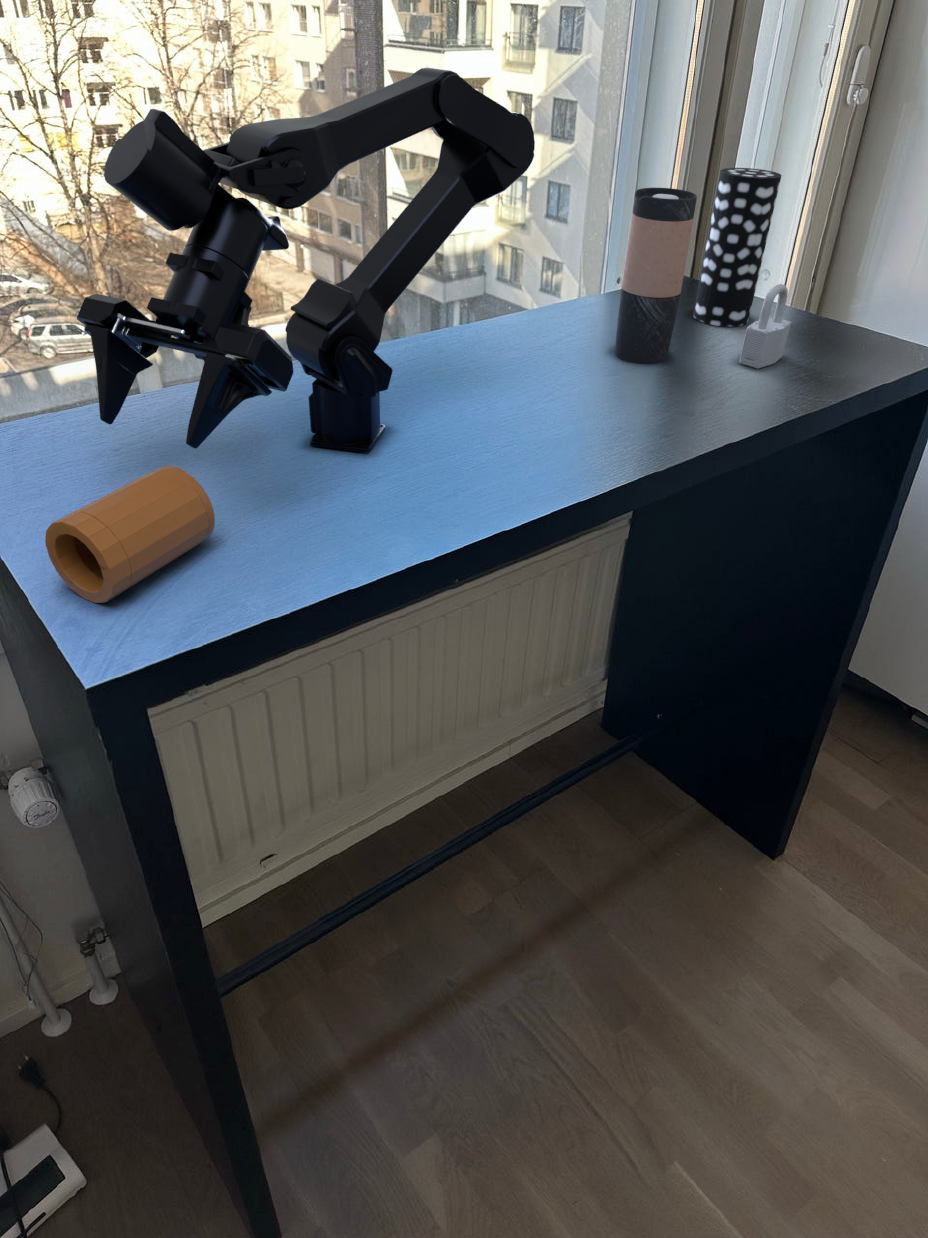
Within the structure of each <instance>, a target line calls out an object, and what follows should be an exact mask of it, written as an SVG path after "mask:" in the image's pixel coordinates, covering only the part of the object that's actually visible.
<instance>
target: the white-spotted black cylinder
mask: <svg viewBox="0 0 928 1238" xmlns="http://www.w3.org/2000/svg"><path fill="white" fill-rule="evenodd" d="M782 176H783V175H782V174H781V173H779V172H776V171H772V170H766V169H761V168H760V169H759V168H751V167H725V168H722V169H720V171H719V176H718V179H717V187H716V190H715V197H714V202H713V207H712V212H711V217H710V222H709V228H708V233H707V238H706V243H705V248H704V254H703V255H704V256H703V259H702V265H701V270H700V274H699V280H698V286H697V292H696V296H695V301H694V307H693V311H692V317H693V318H694V319H695V320H696V321H699V322H700V323H703V324H707V325H711V326H716V327H725V328H726V327H727V328H728V327H729V328H730V327H732V328H733V327H741V326H746V325H747V324H748V323H749V321H750V320H749V319H750V316H751V311H752V307H753V303H754V298H755V294H756V290H757V284H758V280H759V276H760V272H761V267H762V262H763V258H764V254H765V249H766V245H767V241H768V237H769V233H770V228H771V225H772V224H771V223H772V219H773V215H774V210H775V207H776V202H777V197H778V193H779V189H780V185H781V179H782Z"/></svg>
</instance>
